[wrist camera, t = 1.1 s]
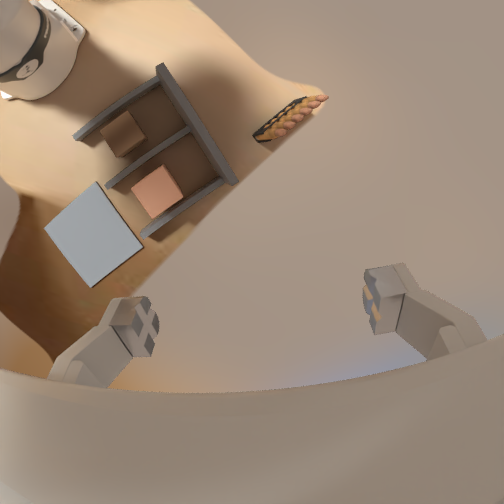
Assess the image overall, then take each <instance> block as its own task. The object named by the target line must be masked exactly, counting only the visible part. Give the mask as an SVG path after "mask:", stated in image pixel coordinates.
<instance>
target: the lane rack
mask: <svg viewBox="0 0 504 504" xmlns="http://www.w3.org/2000/svg"><path fill="white" fill-rule="evenodd" d="M156 75H157V76H155V77H153V78H152V79H150V80H148V81H147V82H145V83H144V84H142V85H140V86H139V87H137V88H136V89H134V90H133V91H131V92H130V93H128V94H127V95H125V96H124V97H122V98H121V99H119V100H118V101H116V102H115V103H114V104H112V105H111V106H109V107H108V108H107V109H105V110H104V111H103V112H101V113H100V114H99V115H97V116H96V117H95V118H93V119H92V120H91V121H90V122H88V123H87V124H86V125H85V126H83V127H82V128H81V129H80V130H78V131H77V132H76V133H75V134H74V135H72V136H73V138H74V139H75V141H81V140H82V139H84V138H85V137H86V136H87V135H89V134H90V133H91V132H92V131H94V130H95V129H96V128H97V127H99V126H100V125H101V124H103V123H104V122H105V121H107V120H108V119H109V118H111V117H112V116H113V115H115V114H116V113H118V112H119V111H120V110H122V109H123V108H125V107H126V106H128V105H129V104H131V103H132V102H133V101H135V100H136V99H138V98H140V97H141V96H143V95H144V94H146V93H147V92H149V91H150V90H152V89H154V88H155V87H157V86H159V85H161V87H162V88H163V90H164V91H165V93H166V95H167V96H168V98H169V99H170V101H171V102H172V104H173V105H174V107H175V108H176V110H177V112H178V113H179V115H180V116H181V118H182V119H183V121H184V122H185V124H186V125H187V127H185V128H183V129H182V130H180V131H179V132H177V133H176V134H174V135H173V136H171V137H169V138H168V139H166V140H165V141H163V142H162V143H160V144H159V145H157V146H156V147H155V148H153V149H152V150H150V151H149V152H147V153H146V154H144V155H143V156H142V157H140V158H139V159H138V160H136V161H135V162H133V163H132V164H131V165H129V166H128V167H127V168H125V169H124V170H123V171H121V172H120V173H119V174H117V175H116V176H115V177H114V178H112V179H111V180H110V181H108V182H107V183H106V184H105V185H104V186H105V187H106V188H107V190H108V189H110V188H112V187H113V186H114V185H115V184H117V183H118V182H119V181H121V180H122V179H123V178H124V177H126V176H127V175H128V174H130V173H131V172H132V171H134V170H135V169H137V168H138V167H139V166H141V165H142V164H143V163H145V162H146V161H148V160H149V159H150V158H152V157H153V156H155V155H156V154H158V153H159V152H161V151H162V150H164V149H165V148H166V147H168V146H169V145H171V144H173V143H174V142H176V141H177V140H179V139H180V138H182V137H183V136H185V135H186V134H188V133H190V132H191V133H192V135H193V136H194V138H195V140H196V141H197V143H198V144H199V146H200V147H201V149H202V150H203V152H204V154H205V155H206V157H207V158H208V160H209V161H210V163H211V165H212V166H213V168H214V169H215V171H216V172H217V174H218V177H217V178H215V179H214V180H212V181H211V182H209V183H208V184H206V185H205V186H203V187H202V188H200V189H199V190H197V191H196V192H194V193H193V194H191V195H190V196H188V197H187V198H185V199H184V200H182V201H181V202H180V203H178V204H177V205H175V206H174V207H172V208H171V209H170V210H168V211H167V212H165V213H164V214H163V215H161V216H160V217H158V218H157V219H156V220H154V221H153V222H152V223H150V224H149V225H147V226H146V227H145V228H143V229H142V230H141V232H140V236H141V237H142V238H143V240H144V239H145V238H146V237H148V236H149V235H150V234H152V233H153V232H154V231H156V230H157V229H159V228H160V227H161V226H163V225H164V224H166V223H167V222H168V221H170V220H171V219H173V218H174V217H175V216H177V215H178V214H180V213H181V212H182V211H184V210H185V209H187V208H188V207H190V206H191V205H193V204H194V203H196V202H197V201H198V200H200V199H201V198H203V197H204V196H206V195H207V194H209V193H210V192H212V191H213V190H215V189H216V188H218V187H219V186H221V185H223V184H224V183H227V184H229V185H231V186H233V185H234V184H236V183H237V182H239V181H238V179H237V177H236V176H235V174H234V172H233V171H232V169H231V168H230V166H229V164H228V163H227V161H226V160H225V158H224V156H223V155H222V153H221V152H220V150H219V148H218V147H217V145H216V144H215V142H214V140H213V139H212V137H211V136H210V134H209V132H208V131H207V129H206V128H205V126H204V125H203V123H202V121H201V120H200V118H199V117H198V115H197V114H196V112H195V110H194V109H193V107H192V106H191V104H190V103H189V101H188V100H187V98H186V96H185V95H184V93H183V92H182V90H181V89H180V87H179V86H178V84H177V83H176V81H175V80H174V78H173V77H172V75H171V73H170V72H169V70H168V69H167V67H166V66H165V64H164V63H161V64H159V65H157V66H156Z"/></svg>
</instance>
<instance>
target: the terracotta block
mask: <svg viewBox="0 0 504 504" xmlns="http://www.w3.org/2000/svg"><path fill="white" fill-rule="evenodd" d="M131 190H132V191H133V193H134V194H135V196H136V197H137V198H138V200H139V201H140V203H141V204H142V205H143V207H144V208H145V210H146V211H147V213H148V214H149V215H150V217H151V218H152V219H153V218H155V217H156V216H158V215H159V214H160V213H162V212H163V211H165V210H166V209H167V208H169V207H170V206H172V205H173V204H174V203H176V202H177V201H179V200H180V199H182V198H183V195H182V192H181V189H180V187H179V186H178V184H177V183H176V181H175V180H174V178H173V177H172V175H171V174H170V172H169V171H168V169H167V168H166V166H165V165H164V164H162V165H161V166H159V167H158V168H157V169H155V170H154V171H152V172H151V173H150V174H148V175H147V176H145V177H144V178H143V179H141V180H140V181H139V182H137V183H136V184H135V185H134V186H133V187H132V188H131Z"/></svg>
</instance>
